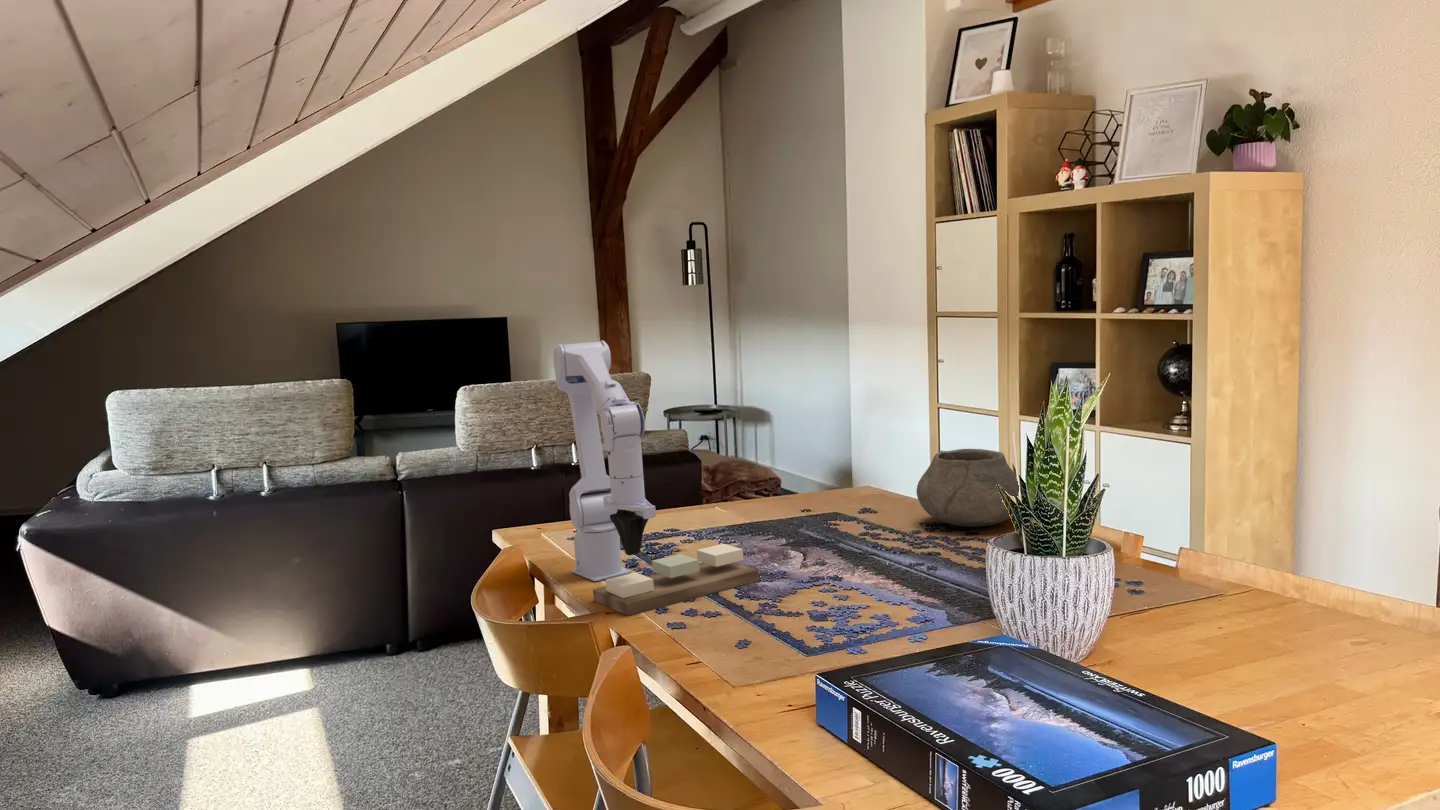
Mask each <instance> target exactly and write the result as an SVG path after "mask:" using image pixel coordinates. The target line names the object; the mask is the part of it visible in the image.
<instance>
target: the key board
mask: <svg viewBox="0 0 1440 810" xmlns="http://www.w3.org/2000/svg"><path fill="white" fill-rule="evenodd" d="M699 568H700V571H698V572H694V573H690V574H686V575H682V576H678V577H674V578H669V577H666V576H663V575H661V574H658V573H653V574H650V575H645V576H646V577H649V578H652V579H653V584H654V591H650V592H646V593H642V594H638V595H634V596H630V597H626V598H621V597H619V596H617V595H614V594H612V593H610V592H607V591H606V585H605V586H601V587H598V588H593V589H592V596H593V601H594V602H595V603H598V604H600V605H603V606H605V607H607V608H609V609H612V610H613V611H616V612H618V613H621V614H623V615H625V616H628V617H629V616H632V615H637V614H641V613H644V612H647V611H648V612H649V611H651V610H655V609H660V608H662V607H667V606H670V605H674V604H678V603H682V602H686V601H689V600H692V599H696V598H700V597H704V596H708V595H712V594H716V593H719V592H723V591H727V590H730V589H734V588H738V587H741V586H745V585H749V584H752V583H755V582H760V577H759V576H760V575H759V573H760V572H759V569H757V568H753V567H750V566H746V565H745V564H740V563H738V562H733V563H729V564H725V565H721V566H717V567H715V566H712V565H709V564H706V563H703V562H699Z"/></svg>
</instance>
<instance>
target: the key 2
mask: <svg viewBox="0 0 1440 810" xmlns="http://www.w3.org/2000/svg"><path fill="white" fill-rule="evenodd" d="M696 557H697V558H696V559H698V560H699V563H702V562H703V563H706V564H709V565H712V566H715V567H717V566H721V565H725V564H729V563H733V562H734V563H738V562H740V561H744V550H743V548H739V547H737V546H733V545H729V544H726V543H721V544H717V545H712V546H708V547H703V548H700V549H696Z"/></svg>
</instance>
